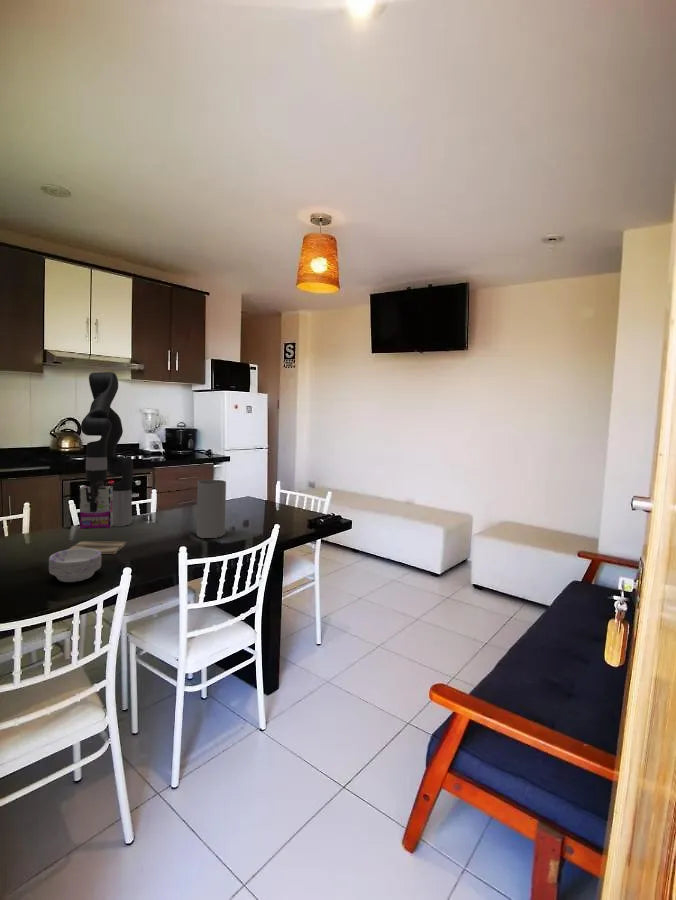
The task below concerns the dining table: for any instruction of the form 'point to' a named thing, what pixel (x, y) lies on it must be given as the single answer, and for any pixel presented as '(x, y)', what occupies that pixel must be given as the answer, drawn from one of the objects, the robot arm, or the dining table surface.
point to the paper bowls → (74, 564)
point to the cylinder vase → (211, 508)
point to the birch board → (101, 546)
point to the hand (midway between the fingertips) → (96, 510)
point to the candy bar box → (104, 509)
